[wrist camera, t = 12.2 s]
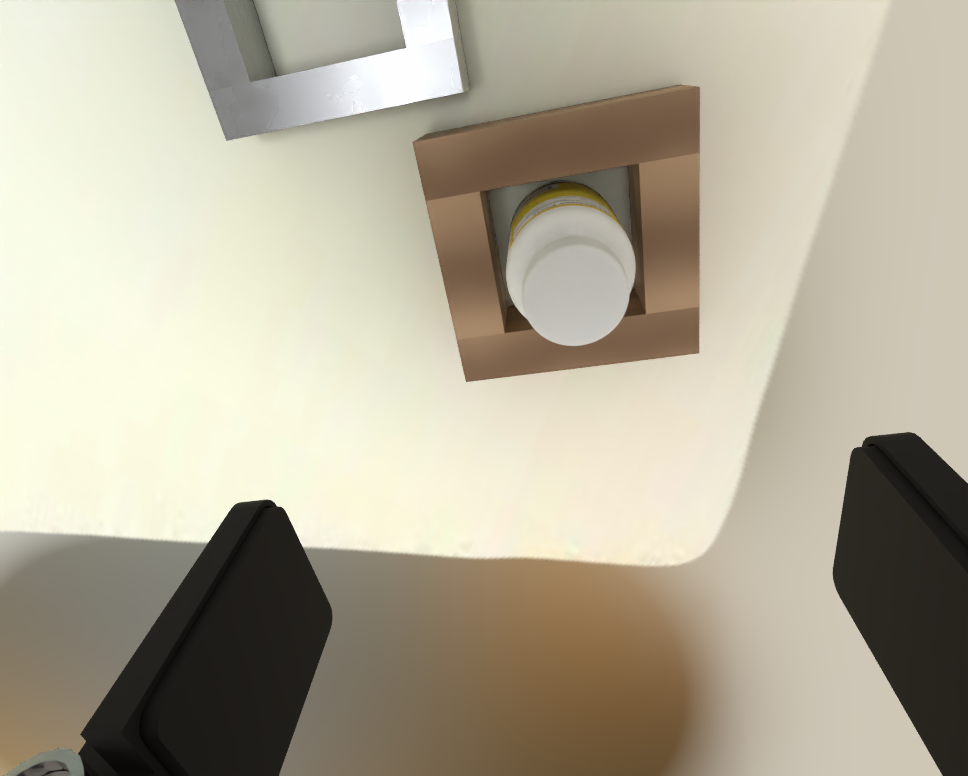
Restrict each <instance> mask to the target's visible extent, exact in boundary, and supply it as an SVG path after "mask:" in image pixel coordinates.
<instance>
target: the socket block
mask: <svg viewBox="0 0 968 776" xmlns="http://www.w3.org/2000/svg"><path fill="white" fill-rule="evenodd" d="M175 2H176V5H177V8H178V11H179V13H180V16H181V19H182V21H183V24H184V27H185V29H186V32H187V35H188V38H189V40H190V43H191V46H192V48H193V51H194V54H195V57H196V59H197V62H198V65H199V67H200V70H201V73H202V76H203V78H204V81H205V84H206V86H207V89H208V92H209V95H210V97H211V100H212V103H213V105H214V108H215V111H216V114H217V116H218V119H219V122H220V124H221V127H222V130H223V132H224V135H225V138H226V141H227V140H232V139H237V138H242V137H247V136H252V135H257V134H262V133H266V132H271V131H276V130H281V129H286V128H291V127H296V126H301V125H306V124H310V123H315V122H320V121H325V120H330V119H335V118H340V117H345V116H350V115H354V114H359V113H364V112H369V111H374V110H379V109H384V108H389V107H394V106H398V105H403V104H408V103H413V102H418V101H423V100H428V99H433V98H437V97H442V96H447V95H452V94H457V93H462V92H465V91H468V90H470V86H469V80H468V74H467V68H466V63H465V57H464V51H463V45H462V39H461V33H460V28H459V22H458V16H457V10H456V4H455V0H396V2H397V7H398V11H399V16H400V21H401V25H402V30H403V35H404V39H405V44H406V48H404V49H399V50H395V51H390V52H386V53H381V54H377V55H372V56H368V57H363V58H359V59H354V60H350V61H345V62H341V63H336V64H331V65H327V66H322V67H318V68H313V69H309V70H304V71H300V72H295V73H291V74H286V75H282V76H277V77H276V73H275V70H274V67H273V64H272V61H271V58H270V54H269V51H268V48H267V45H266V42H265V38H264V35H263V32H262V29H261V26H260V23H259V19H258V16H257V13H256V10H255V7H254V3H253V0H175Z"/></svg>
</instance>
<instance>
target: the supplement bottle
mask: <svg viewBox="0 0 968 776" xmlns="http://www.w3.org/2000/svg"><path fill="white" fill-rule="evenodd" d="M635 272H636V262H635V255H634V251H633V248H632V245H631V242H630V240H629V238H628V236H627V234H626V233H625V231H624V229H623V228H622V226H621V225H620V223H619V221H618V220H617V218H616V216H615V215H614V213H613V212H612V210H611V208H610V207H609V205H608V204H607V202H606V201H605V200H604V199H603V198H602V197H601V195H600V194H598V193H597V192H596V191H595V190H593V189H592V188H590V187H588V186H586V185H584V184H581V183H578V182H573V181H555V182H551V183H547V184H545V185H542V186H540V187H539V188H537V189H535V190H534V191H532V192H531V193H530V194H529V195H528V196H526V198H525V199H524V200H523V201H522V202H521V203H520V205H519V206H518V208H517V210H516V212H515V214H514V216H513V219H512V222H511V227H510V234H509V245H508V255H507V265H506V281H507V287H508V291H509V294H510V296H511V299H512V301H513V303H514V304H515V306H516V308H517V309H518V310H519V311H520V313H521V314H522V315H523V316H524V317H525V318H526V319H528V321H529V323H530V324H531V326H532V327H533V328H534V329H535V330H536V331H537V332H538V333H539V334H540V335H541V336H543V337H544V338H546V339H547V340H549V341H551V342H554V343H557V344H561V345H567V346H580V345H586V344H590V343H593V342H596V341H598V340H599V339H602V338H603V337H605V336H606V335H608V334H609V333H610V332H611V331H612V330H613V329H614V328H615V327H616V326H617V325H618V324H619V323H620V321H621V320H622V318H623V316H624V314H625V312H626V309H627V306H628V302H629V296H630V292H631V290H632V287H633V284H634V279H635Z"/></svg>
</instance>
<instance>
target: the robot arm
mask: <svg viewBox="0 0 968 776" xmlns="http://www.w3.org/2000/svg"><path fill="white" fill-rule="evenodd" d="M833 580H834V583H835V587H836V590H837V592H838V594H839V596H840V598H841V600H842V601H843V603H844V605H845V607H846V608H847V610H848V612H849V614H850V615H851V617H852V619H853V621H854V622H855V624H856V626H857V628H858V629H859V631H860V633H861V634H862V636H863V638H864V640H865V641H866V643H867V645H868V647H869V648H870V650H871V652H872V654H873V655H874V657H875V659H876V660H877V662H878V664H879V666H880V667H881V669H882V671H883V673H884V674H885V676H886V678H887V680H888V681H889V683H890V685H891V687H892V688H893V690H894V692H895V694H896V695H897V697H898V699H899V701H900V702H901V704H902V706H903V707H904V709H905V711H906V713H907V714H908V716H909V718H910V719H911V721H912V723H913V725H914V727H915V728H916V730H917V732H918V734H919V735H920V737H921V739H922V740H923V742H924V744H925V745H926V747H927V749H928V751H929V753H930V754H931V756H932V758H933V760H934V761H935V763H936V765H937V767H938V768H939V770H940V772H941V773H942V775H943V776H968V483H967V482H966V481H964V480H963V479H962V478H961V477H960V476H959V475H958V474H957V473H956V472H955V471H954V470H953V469H952V468H951V467H950V466H949V465H948V464H947V463H946V462H945V461H944V460H943V459H942V458H941V457H940V456H939V455H937V453H936V452H935V451H934V450H932V449H931V448H930V447H929V446H928V445H927V444H926V443H925V442H924V441H923V440H922V439H921V438H920V437H919V436H917V435H916V434H915V433H910V432H907V433H897V434H888V435H878V436H870V437H868V438H866V439H865V440H864V441H863V445H862V447H857V448H854V449H853V451H852V454H851V457H850V464H849V470H848V476H847V483H846V489H845V496H844V502H843V508H842V515H841V521H840V527H839V534H838V541H837V546H836V553H835V559H834V566H833ZM331 625H332V609H331V606H330V604H329V602H328V600H327V598H326V595H325V593H324V591H323V589H322V587H321V585H320V583H319V581H318V579H317V576H316V575H315V572H314V570H313V568H312V566H311V564H310V562H309V560H308V558H307V555H306V553H305V551H304V549H303V547H302V545H301V543H300V541H299V539H298V536H297V534H296V532H295V530H294V528H293V526H292V524H291V522H290V520H289V518H288V515H287V513H286V512H285V510H284V509H283V508H282V507H277V506H276V504H275V503H274V502H273V501H271V500H259V501H250V502H240V503H237V504H235V505H234V506H233V507H232V508H231V510H230V511H229V513H228V514H227V516H226V517H225V519H224V520H223V522H222V523H221V525H220V526H219V528H218V529H217V531H216V532H215V534H214V535H213V537H212V538H211V540H210V541H209V543H208V544H207V546H206V547H205V549H204V550H203V552H202V553H201V555H200V556H199V558H198V559H197V561H196V562H195V564H194V565H193V567H192V568H191V570H190V571H189V573H188V574H187V576H186V577H185V579H184V580H183V582H182V583H181V585H180V586H179V588H178V589H177V591H176V592H175V594H174V595H173V597H172V598H171V600H170V601H169V603H168V604H167V606H166V607H165V609H164V610H163V611H162V613H161V615H160V616H159V617H158V619H157V620H156V622H155V624H154V625H153V627H152V628H151V629H150V631H149V633H148V634H147V635H146V637H145V638H144V640H143V641H142V643H141V644H140V646H139V647H138V649H137V650H136V652H135V653H134V655H133V656H132V658H131V659H130V661H129V662H128V664H127V665H126V667H125V669H124V670H123V671H122V673H121V674H120V676H119V677H118V679H117V680H116V682H115V683H114V685H113V686H112V688H111V689H110V691H109V692H108V694H107V695H106V697H105V698H104V700H103V701H102V703H101V704H100V706H99V707H98V709H97V710H96V712H95V713H94V715H93V716H92V718H91V719H90V721H89V722H88V724H87V725H86V727H85V728H84V730H83V731H82V733H81V734H80V735H81V736H82V737H83V738H84V739H85V740H86V743H85V744H84V746H83V747H82V749H81V750H80V752H79V753H78V754H77V753H75V752H74V751H73V750H71V749H60V748H57V749H53V750H49V751H46V752H42V753H40V754H38V755H36V756H34V757H32V758H30V759H28V760H26V761H24V762H22V763H21V764H19V765H18V766H16V767H15V768H14V769H12V770H11V771H9V772H8V773H7V774H5V775H4V776H279V773H280V770H281V767H282V765H283V762H284V759H285V756H286V753H287V751H288V748H289V745H290V742H291V739H292V736H293V734H294V731H295V728H296V725H297V722H298V719H299V717H300V714H301V711H302V708H303V705H304V702H305V700H306V697H307V694H308V691H309V688H310V686H311V682H312V679H313V677H314V674H315V671H316V668H317V665H318V663H319V660H320V657H321V654H322V651H323V648H324V646H325V643H326V640H327V637H328V634H329V632H330V629H331Z"/></svg>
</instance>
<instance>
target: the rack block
mask: <svg viewBox="0 0 968 776" xmlns="http://www.w3.org/2000/svg"><path fill="white" fill-rule="evenodd" d="M699 136H700V87H696V86H687V85H676V86H671V87H666V88H661V89H656V90H651V91H645V92H640V93H635V94H630V95H625V96H620V97H615V98H610V99H604V100H599V101H594V102H589V103H584V104H579V105H574V106H569V107H563V108H558V109H553V110H548V111H543V112H538V113H533V114H527V115H522V116H517V117H512V118H507V119H502V120H497V121H492V122H486V123H481V124H476V125H471V126H466V127H461V128H456V129H451V130H445V131H440V132H435V133H430V134H426V135H424V136H422V137H421V138H419V139H417V140H416V141H414V142H413V146H414V151H415V155H416V160H417V164H418V169H419V173H420V178H421V182H422V187H423V191H424V195H425V200H426V204H427V209H428V213H429V218H430V222H431V227H432V231H433V236H434V240H435V245H436V249H437V254H438V258H439V263H440V267H441V272H442V276H443V281H444V285H445V289H446V294H447V298H448V303H449V307H450V312H451V316H452V321H453V325H454V330H455V334H456V339H457V343H458V348H459V352H460V357H461V361H462V366H463V370H464V375H465V379H466V382H469V381H478V380H486V379H494V378H502V377H510V376H518V375H526V374H534V373H542V372H550V371H559V370H567V369H575V368H583V367H591V366H599V365H607V364H615V363H623V362H632V361H640V360H648V359H656V358H664V357H672V356H680V355H688V354H696V353H699ZM622 166H628V174H629V192H630V210H631V229H632V247H633V251H634V255H635V262H636V272H635V279H634V283H635V290H631V292H630V296H629V302H628V306H627V309H626V312H625V314H624V316H623V318H622V320H621V321H620V323H619V324H618V325H617V326H616V327H615V328H614V329H613V330H612V331H611V332H610V333H609V334H608V335H606V336H605V337H603V338H602V339H599V340H598V341H596V342H593V343H590V344H586V345H580V346H567V345H561V344H557V343H554V342H551V341H549V340H547V339H546V338H544V337H543V336H541V335H540V334H539V333H538V332H537V331H536V330H535V329H534V328H533V327H532V326H531V324H530V323H529V321H528V319H526V318H525V317H524V316H523V315H522V314H521V313H520V311H519V310H518V309H517V308H516V307H510V308H507V302H506V296H505V291H504V285H503V279H502V273H501V267H500V261H499V255H498V250H497V244H496V238H495V232H494V226H493V220H492V215H491V209H490V203H489V197H488V191H487V190H491V189H497V188H503V187H508V186H514V185H520V184H525V183H531V182H537V181H542V180H548V179H554V178H560V177H565V176H571V175H577V174H582V173H588V172H594V171H599V170H605V169H611V168H616V167H622Z"/></svg>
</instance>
